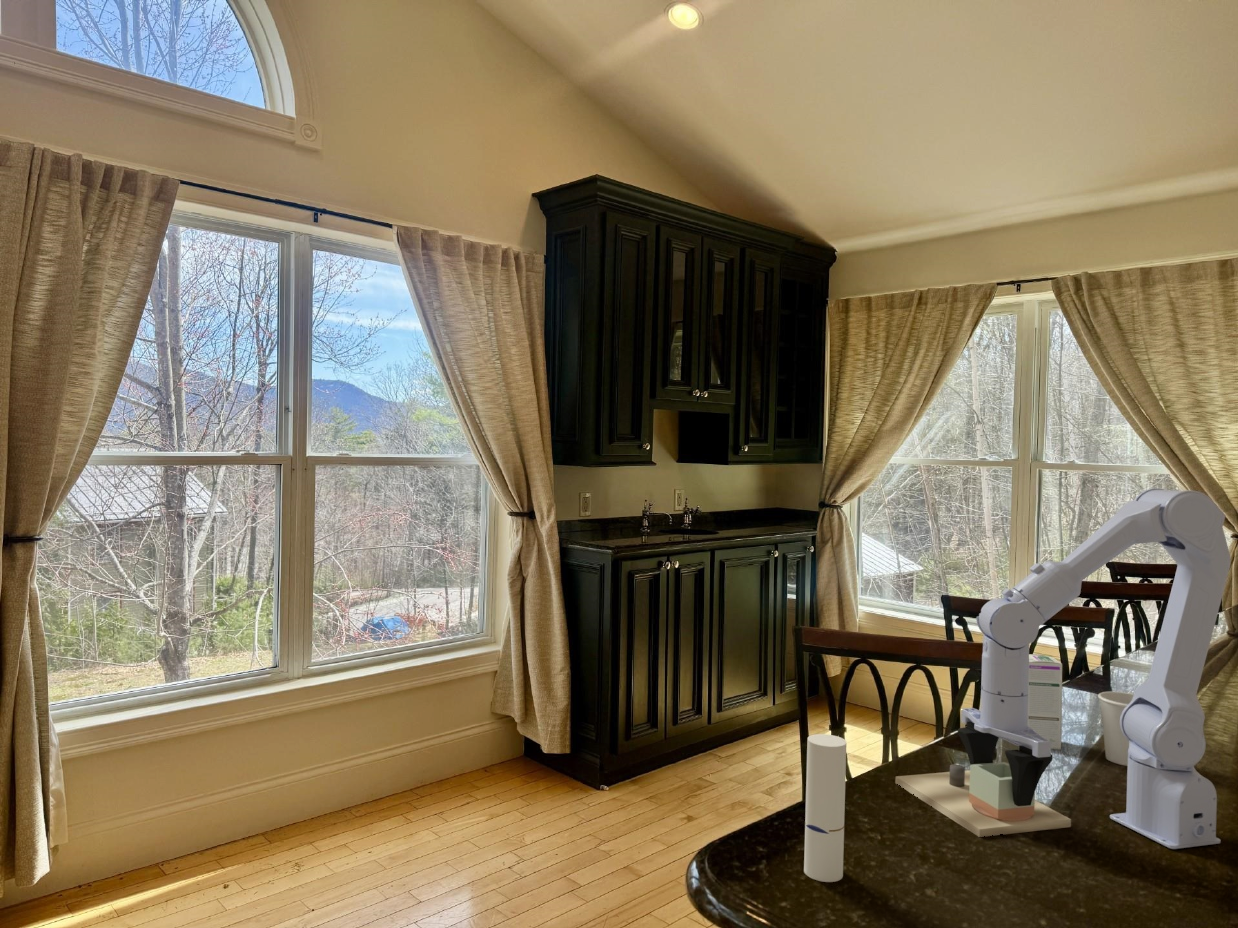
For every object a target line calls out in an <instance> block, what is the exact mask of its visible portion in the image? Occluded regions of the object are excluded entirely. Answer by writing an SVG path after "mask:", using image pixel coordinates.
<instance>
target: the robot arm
mask: <svg viewBox="0 0 1238 928" xmlns="http://www.w3.org/2000/svg"><path fill="white" fill-rule="evenodd" d="M1225 520H1226V514H1225V513H1224V511H1222V510H1221V509H1220V507H1219V506H1218V505H1217V504H1216V503H1215V501H1214V500H1212V499H1211V498H1210V497H1209V496H1208V495H1207V494H1205V493H1203V492H1201V491H1197V490H1190V489H1187V490H1174V489H1172V490H1171V489H1170V490H1168V489H1164V488H1155V487H1154V488H1149V489H1146V490H1144V491H1142V492H1140V493H1139V494H1138V495H1136V497H1135V498H1134V500H1130V501H1128V502H1126V503H1124V504H1123V505H1121V507H1120V508H1119V509H1118V510H1117V512H1115V514H1114V515H1112V517H1110V518H1109V519H1108V520H1107V521H1106V522H1105V523H1104V524H1102V526H1100V527H1099V528H1098V529H1097V530H1096V531H1095V532H1093V533H1092V534H1091V535H1090V536H1089V537H1088V538H1087V539H1086V540H1084V541H1083V542H1082V543H1081V544H1079V545H1078V547H1076V548H1075V549H1074V550H1073V551H1072V552H1071V553H1070V554H1068V555H1067V556H1066V557H1065V558H1064V559H1063V560H1061V561H1052V560H1047V561H1045V562H1043V563H1042V564H1041V563H1037V562H1035V564H1033V565H1032V566H1031V567H1029V571H1030V572H1031V573H1030V574H1028V575H1027V576H1026V577H1024V578H1023V579H1022V580H1021V581H1019V582H1018V583H1017V584H1015V586H1013V587H1012V588H1011V589H1010V588H1008V587H1006V588H1005V589H1004V590H1002V591H1001V594H1002V595H1003V598H1002V597H999V598H993V599H991V600H989V601H987V602H986V603H985V604H984V605H983V606H982V607H981V609H980V613H978V616H976V618H975V620H976V625H977V626H978V629H979V631H980V632H981V634H982V635H983V637H982V654H981V680H980V681H981V682H980V683H981V685H980V689H981V690H980V709H977V708H974V707H968V708H961V709H960V710H961V713H960V720H961V721H960V722H961V723H962V724H964V725H965V727H960V728H958V729H957V735H958V736H959V738H960V740H961V742H962V744H963V745H964V749H965V751H966V753H967V758H968V760H969V766H970V765H973V764H986V763H994V757H995V751H996V747H997V744H998V742H999V741H998V740H999V739H1002V740H1004V741H1006V742H1009V743H1010V744H1013V745H1015V746H1016V747H1019V748H1018V749H1008V750H1007V749H1006V750H1005V752H1004V754H1005V756H1006V757H1005V758H1006V759H1007V763H1008V764H1009V766H1010V770H1011V775H1012V792H1013V801H1014V804H1015V805H1016V806H1028V805H1031V802H1032V799H1033V796H1034V793H1035V794H1036V790H1037V787H1038V784H1039V781H1040V780H1041V779H1042V776H1043V774H1044V772H1045V771H1046V770H1047V767H1049V766H1050V764H1051V763H1052V762H1053V754H1052V751H1051V750H1052V749H1051V741H1049V740H1047V739H1045V738H1043V737H1042V736H1040V735H1039V734H1038V733H1036V732H1035V731H1034V730H1033V729H1031V728H1030V727H1029V726H1027V725H1028V689H1029V654H1030V644H1032V643H1034V642H1035V640H1036V639H1037V636H1038V634H1039V631H1040V630H1039V629H1040V626H1042V625H1044V624H1045V623H1046V622H1047V621H1048V620H1050V619H1051V618H1052V617H1053V616H1055V615H1056V614H1057V613H1058V612H1060V611H1061V610H1062V609H1065V607H1067V606H1068V605H1069V604H1070V603H1071V602H1073V601H1074V600H1075V599H1077V598H1078V597H1079V596H1081V595H1080V594H1081V592H1082V591H1081V589H1082V583H1083V581H1084V580H1085V579H1086V578H1088V577H1089V576H1091V575H1092V574H1093V573H1095V572H1096V571H1097V570H1099V569H1101V568H1102V567H1103V566H1105V565H1106V564H1107V563H1109V562H1110V561H1112V560H1113V559H1115V558H1116V557H1118V555H1121V554H1122V553H1123V552H1124V551H1126V550H1127V549H1129V548H1130V547H1132V546H1134V545H1138V544H1149V543H1150V544H1151V543H1159V544H1161V546H1162V547H1163V548H1164V550H1165V551H1166V552H1167V553H1168V555H1169V556H1170V557H1171V558H1172V560H1174V562H1175V563H1176V566H1177V567H1176V571H1175V576H1174V579H1173V583H1172V586H1171V591H1170V594H1169V598H1168V603H1167V605H1166V609H1165V613H1164V617H1163V621H1162V625H1161V629H1160V632H1159V636H1158V640H1157V644H1156V648H1155V652H1154V655H1153V658H1152V663H1151V667H1150V671H1149V674H1148V678H1147V679H1146V680H1145V681H1144V682H1142V683H1141V684H1140V685H1138V686H1137V687H1136V688H1135V690H1134V693H1133V694H1134V696H1133V699H1132V701H1131V702H1130V703H1129V704H1128V705H1127V706H1126V707H1125V708H1124V710H1123V711H1122V714H1121V716H1120V727H1121V730H1122V732H1123V734H1124V736H1125V737H1126V738H1127V739H1128V740H1129V749H1128V766H1127V768H1126V769H1127V773H1126V807H1125V808H1126V809H1125V810H1126V811H1125V812H1121V813H1120V812H1119V813H1113V814H1110V815H1109V818H1110V819H1111V820H1113V821H1115V822H1116V823H1119V824H1121V825H1122V826H1125V827H1127V828H1128V829H1131V830H1133V832H1134V831H1135V832H1137V833H1138V834H1141V835H1142V836H1145V837H1146V838H1148V839H1150V840H1152V841H1155V842H1156V843H1158V844H1161V845H1162V846H1164V847H1167V848H1168V849H1171V850H1178V849H1184V848H1185V849H1186V848H1193V847H1194V848H1195V847H1201V846H1208V845H1210V846H1211V845H1216V844H1221V843H1222V842H1221V839H1220V838H1219V837H1217V813H1218V812H1217V810H1218V809H1217V806H1218V796H1217V790H1216V788H1215V785H1214V784H1213V782H1212V781H1211V780H1209V779H1208V778H1207V777H1204V776H1203V775H1201V774H1200V773H1199V772H1198V771H1197V770H1196V768H1195V765H1197V764H1198V763H1199V762H1200V761H1201V760H1202V758H1203V756H1204V755H1205V753H1206V752H1205V751H1206V747H1207V745H1206V743H1207V742H1206V738H1205V734H1204V725H1205V724H1204V722H1205V718H1206V716H1205V711H1204V710H1203V708H1202V705H1201V703H1200V700H1199V699H1198V695H1197V694H1198V689H1199V685H1200V682H1201V678H1202V676H1203V671H1204V667H1205V664H1206V660H1207V655H1208V651H1209V648H1210V644H1211V641H1212V636H1213V634H1214V629H1215V625H1216V622H1217V617H1218V613H1219V610H1220V606H1221V602H1222V599H1223V595H1224V591H1225V587H1226V583H1227V579H1228V575H1229V573H1230V567H1231V562H1232V561H1231V560H1232V559H1231V554H1230V550H1229V546H1228V542H1227V540H1226V535H1225V531H1224V528H1223V526H1224V522H1225Z"/></svg>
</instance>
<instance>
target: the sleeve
mask: <svg viewBox="0 0 1238 928" xmlns="http://www.w3.org/2000/svg"><path fill="white" fill-rule="evenodd" d="M969 770H970V785H969V802H970V803H972V804H974V805H975V806H977V807H979V808H980V809H982V810H984V811H985V812H987V813H989V814H990V815H992V816H994V817H995V818H997V819H1003V818H1012V817H1022V816H1032V815H1034V806H1035V800H1036V799H1035V798H1036V795H1035V794H1036V792H1035V793H1034V796H1033V799H1032V802H1031V805H1028V806H1016V805H1015V804H1014V801H1013V792H1012V775H1011V770H1010V766H1009V762H1006V761H1002V762H1000V761H999V762H993V763H986V764H973V765H970V764H969Z"/></svg>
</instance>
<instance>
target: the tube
mask: <svg viewBox="0 0 1238 928" xmlns="http://www.w3.org/2000/svg"><path fill="white" fill-rule="evenodd" d="M806 746H807V748H806V777H805V778H806V782H805V784H806V786H805V815H804V817H805V818H804V819H805V821H804V851H803V852H804V856H803V857H804V860H803V873H804V874H805V875H806V876H807V877H809V878H810V879H812V880H814V881H815V880H816V881H818V882H825V883H833V882H834V883H835V882H838V881H840V880H842V879H843V877H844V844H845V814H846V813H845V812H846V811H845V810H846V809H845V807H846V805H845V804H846V801H845V800H846V775H847V773H846V772H847V771H846V769H847V767H846V766H847V740H846V739H844V738H843V737H840V736H837V735H832V734H826V733H816V734H812V735H811V734H810V735H809V736H808V737H807V745H806Z"/></svg>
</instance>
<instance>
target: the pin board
mask: <svg viewBox="0 0 1238 928" xmlns="http://www.w3.org/2000/svg"><path fill="white" fill-rule="evenodd" d="M894 782H895V784H896V785H897V784H898V785H897V786H899V785H900V786H901V787H900V786H899V787H900V788H902V789H903V788H904V790H906V791H907V792H908V793H909V794H912V795H913V794H914V795H913V796H915V797H916V798H917V797H918V798H917V799H919V800H921V801H922V802H924V803H925V804H927V805H928V806H930V807H931V806H932V808H933V809H935V810H936V811H938V812H939V813H941V814H943V815H944V816H946V817H948V819H950V820H952V821H953V822H955V823H956V824H958V825H959V826H961V827H963V828H965V829H966V830H968V831H969V832H970V833H973V835H975V836H977V837H978V838H982V837H984V836H985V837H990V836H991V837H993V836H1000V834H1003V835H1011V834H1019V833H1020V834H1021V833H1028V832H1037V831H1046V830H1057V829H1064V828H1071V827H1072V819H1071V818H1070V817H1068V816H1065V815H1063V814H1062V813H1060V812H1058V811H1057V810H1054V809H1052V808H1050V807H1049V806H1047V805H1046V804H1043V803H1042V802H1039V801H1038V800H1036V799H1035V806H1034V815H1032V816H1022V817H1012V818H1003V819H997V818H995V817H994V816H992V815H990V814H989V813H987V812H985V811H984V810H982V809H980V808H979V807H977V806H975V805H974V804H972V803H970V802H969V785H970V769H969V770H966V767H965V766H963V765H961V764H956V763H955V764H954V763H953V764H950V765H949V771H945V772H936V773H935V772H931V773H922V774H910V775H898V776H895V781H894ZM992 835H993V836H992ZM985 837H984V838H985Z"/></svg>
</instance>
